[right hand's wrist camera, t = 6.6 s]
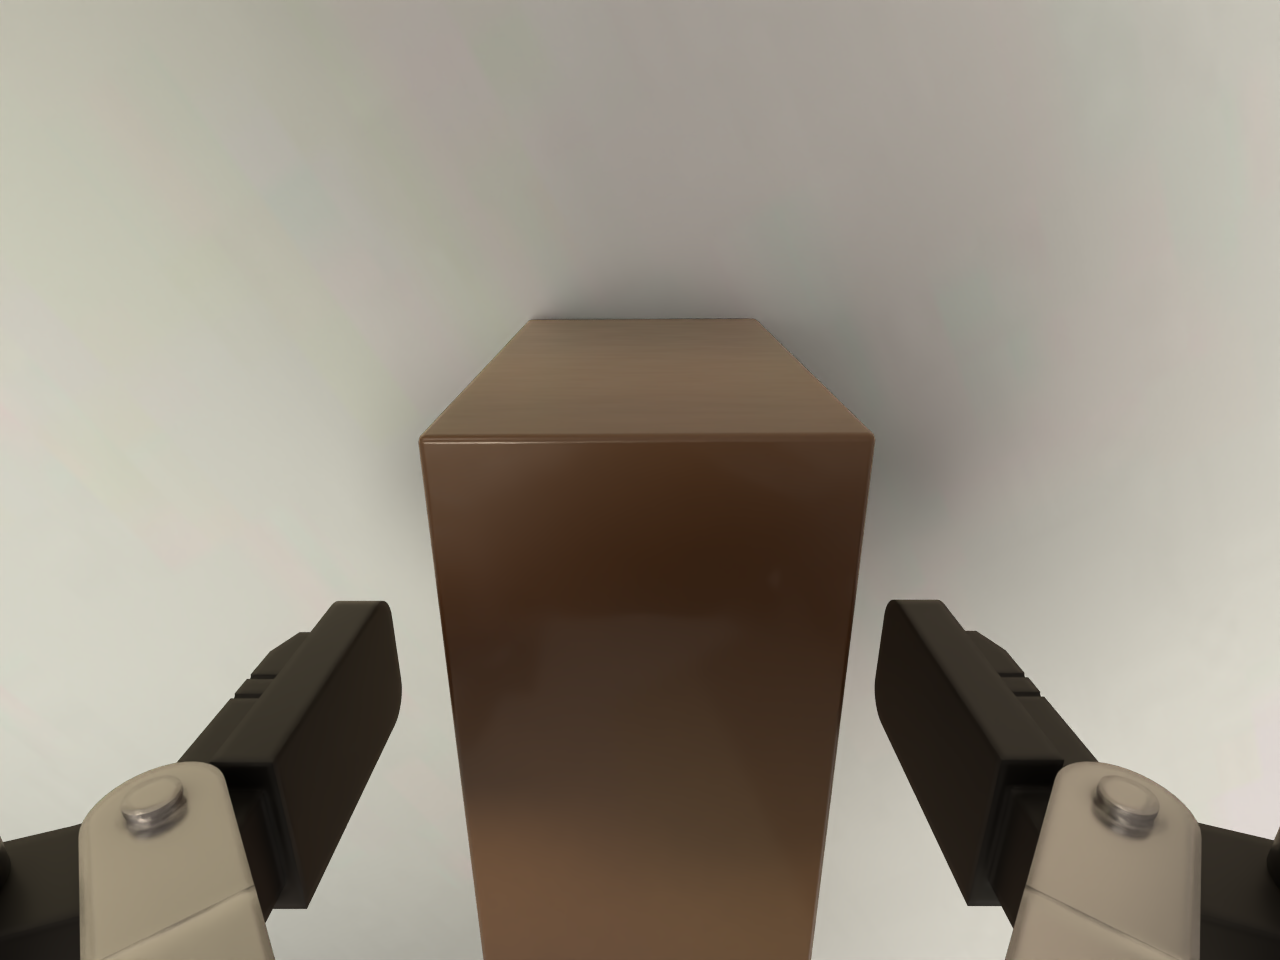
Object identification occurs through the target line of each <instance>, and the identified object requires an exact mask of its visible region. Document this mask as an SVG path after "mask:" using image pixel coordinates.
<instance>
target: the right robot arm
mask: <svg viewBox="0 0 1280 960" xmlns="http://www.w3.org/2000/svg"><path fill="white" fill-rule="evenodd" d="M401 696H402V684H401V676H400V669H399V662H398V655H397V648H396V641H395V635H394V628H393V621H392V615H391V610H390V607H389V605H388V604H387V603H386V602H385V601H337V602H335V603H333V605H332V606H331V607H330V608H329V609H328V611H327V612H326V613H325V614H324V616H323V617H322V618H321V620H320V621H319V622H318V623H317V625H316V626H315V627H314V629H313V630H312V631H311V632H299V633H298V634H296V635H295V636H293V637H292V638H290V639H289V640H287V641H286V642H284V643H283V644H281V645H280V646H278V647H276V648H275V649H273V650H272V651H270V652H269V654H268V655H267V656H266V657H265V658H264V659H263V661H262V662H261V663H260V664H259V665H258V667H257V668H256V669H255V670H254V671H253V673H252V674H251V678H250V679H247V680H246V681H245V682H244V683H243V684H242V686H241V687H240V688H239V689H238V690H237V692H236V693H235V697H234V699H230V700H229V701H228V702H227V703H226V705H225V706H224V707H223V708H222V709H221V711H220V712H219V713H218V714H217V715H216V717H215V718H214V719H213V720H212V721H211V722H210V724H209V725H208V726H207V727H206V728H205V730H204V731H203V732H202V733H201V734H200V736H199V737H198V738H197V739H196V740H195V742H194V743H193V744H192V745H191V746H190V747H189V749H188V750H187V751H186V752H185V753H184V755H183V756H182V757H181V758H180V759H179V761H178V762H177V763H173V764H169V765H165V766H161V767H158V768H155V769H152V770H149V771H147V772H144V773H142V774H140V775H137V776H135V777H133V778H132V779H130V780H128V781H126V782H124V783H123V784H121V785H119V786H118V787H116V788H115V789H113V790H112V791H111V792H109V793H108V794H107V795H105V796H104V797H103V798H102V799H101V800H100V801H99V802H98V803H97V804H96V805H95V806H94V807H93V808H92V809H91V810H90V812H89V813H88V814H87V816H86V817H85V819H84V820H83V822H82V824H78V825H75V826H71V827H67V828H62V829H58V830H54V831H49V832H45V833H41V834H37V835H32V836H28V837H24V838H19V839H15V840H11V841H7V842H2V839H1V837H0V960H275V958H274V954H273V950H272V947H271V943H270V940H269V936H268V932H267V929H266V925H265V922H266V921H267V919H268V917H269V915H270V913H271V911H272V909H307V908H308V906H309V903H310V901H311V899H312V897H313V895H314V893H315V891H316V889H317V887H318V885H319V882H320V880H321V878H322V876H323V874H324V872H325V870H326V868H327V866H328V864H329V862H330V859H331V857H332V855H333V853H334V851H335V849H336V847H337V845H338V843H339V841H340V839H341V836H342V834H343V832H344V830H345V828H346V826H347V824H348V822H349V820H350V818H351V816H352V813H353V811H354V809H355V807H356V805H357V803H358V801H359V799H360V797H361V795H362V792H363V790H364V788H365V786H366V784H367V782H368V780H369V778H370V776H371V774H372V772H373V769H374V767H375V765H376V763H377V761H378V759H379V757H380V755H381V753H382V751H383V749H384V746H385V744H386V742H387V740H388V738H389V736H390V734H391V732H392V730H393V728H394V726H395V723H396V721H397V718H398V714H399V710H400V705H401ZM875 700H876V707H877V712H878V715H879V718H880V721H881V723H882V725H883V728H884V730H885V732H886V734H887V736H888V738H889V740H890V742H891V745H892V747H893V749H894V751H895V753H896V755H897V757H898V759H899V761H900V764H901V766H902V768H903V770H904V772H905V774H906V776H907V778H908V781H909V783H910V785H911V787H912V789H913V791H914V793H915V795H916V798H917V800H918V802H919V804H920V806H921V808H922V810H923V812H924V814H925V817H926V819H927V821H928V823H929V825H930V827H931V829H932V831H933V834H934V836H935V838H936V840H937V842H938V844H939V846H940V848H941V850H942V853H943V855H944V857H945V859H946V861H947V863H948V865H949V867H950V870H951V872H952V874H953V876H954V878H955V880H956V882H957V884H958V887H959V889H960V891H961V893H962V895H963V897H964V899H965V901H966V903H967V906H1002V908H1003V910H1004V912H1005V914H1006V915H1007V917H1008V919H1009V921H1010V923H1011V925H1012V927H1013V932H1012V936H1011V940H1010V943H1009V947H1008V950H1007V954H1006V958H1005V960H1280V828H1279V830H1278V832H1277V835H1276V837H1275V839H1274V840H1270V839H1266V838H1261V837H1257V836H1253V835H1248V834H1244V833H1240V832H1236V831H1231V830H1227V829H1223V828H1218V827H1214V826H1210V825H1205V824H1201V823H1198V822H1197V820H1196V819H1195V817H1194V816H1193V814H1192V813H1191V812H1190V810H1189V809H1188V808H1187V807H1186V806H1185V805H1184V804H1183V803H1182V802H1181V801H1180V800H1179V799H1178V798H1177V797H1176V796H1175V795H1173V794H1172V793H1171V792H1169V791H1168V790H1167V789H1165V788H1164V787H1162V786H1160V785H1159V784H1157V783H1156V782H1154V781H1152V780H1150V779H1148V778H1146V777H1145V776H1143V775H1140V774H1138V773H1136V772H1133V771H1131V770H1128V769H1125V768H1122V767H1119V766H1115V765H1111V764H1107V763H1100V762H1098V761H1097V760H1096V758H1095V757H1094V756H1093V755H1092V754H1091V752H1090V751H1089V750H1088V749H1087V748H1086V746H1085V745H1084V744H1083V743H1082V742H1081V740H1080V739H1079V738H1078V737H1077V736H1076V734H1075V733H1074V732H1073V731H1072V730H1071V728H1070V727H1069V726H1068V725H1067V724H1066V722H1065V721H1064V720H1063V719H1062V718H1061V716H1060V715H1059V714H1058V713H1057V712H1056V710H1055V709H1054V708H1053V707H1052V706H1051V704H1050V703H1049V702H1048V701H1047V700H1046V698H1045V697H1041V696H1040V691H1039V690H1038V689H1037V688H1036V686H1035V685H1034V684H1033V683H1032V682H1031V680H1030V679H1029V678H1028V677H1025V676H1024V672H1023V671H1022V670H1021V668H1020V667H1019V666H1018V665H1017V664H1016V662H1015V661H1014V660H1013V659H1012V658H1011V656H1010V655H1009V654H1008V653H1007V652H1006V650H1004V649H1003V648H1001V647H1000V646H998V645H997V644H995V643H994V642H992V641H991V640H989V639H988V638H986V637H985V636H983V635H981V634H980V633H978V632H977V631H965V630H964V629H963V628H962V626H961V625H960V624H959V623H958V621H957V620H956V619H955V617H954V616H953V615H952V614H951V612H950V611H949V610H948V608H947V607H946V606H945V604H944V603H943V602H941V601H940V600H891V601H890V602H889V603H888V604H887V607H886V610H885V615H884V621H883V628H882V635H881V642H880V649H879V656H878V663H877V670H876V677H875Z"/></svg>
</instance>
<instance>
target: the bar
mask: <svg viewBox="0 0 1280 960" xmlns="http://www.w3.org/2000/svg"><path fill="white" fill-rule="evenodd" d="M418 443H419V451H420V459H421V467H422V475H423V483H424V491H425V498H426V506H427V514H428V522H429V530H430V538H431V546H432V554H433V562H434V570H435V578H436V586H437V594H438V602H439V610H440V618H441V626H442V633H443V641H444V649H445V657H446V665H447V673H448V681H449V689H450V697H451V705H452V713H453V721H454V729H455V737H456V745H457V753H458V761H459V768H460V776H461V784H462V792H463V800H464V808H465V816H466V824H467V832H468V840H469V848H470V856H471V864H472V872H473V880H474V888H475V896H476V903H477V911H478V919H479V927H480V935H481V943H482V951H483V959H484V960H811V955H812V947H813V939H814V931H815V923H816V914H817V906H818V898H819V890H820V882H821V874H822V866H823V858H824V850H825V842H826V834H827V826H828V818H829V809H830V801H831V793H832V785H833V777H834V769H835V761H836V753H837V745H838V737H839V729H840V721H841V712H842V704H843V696H844V688H845V680H846V672H847V664H848V656H849V648H850V640H851V632H852V624H853V615H854V607H855V599H856V591H857V583H858V575H859V567H860V559H861V551H862V543H863V535H864V527H865V518H866V510H867V502H868V494H869V486H870V478H871V470H872V462H873V454H874V446H875V437H874V434H873V433H872V432H871V431H870V430H869V429H868V428H867V427H866V426H865V425H864V424H863V423H862V422H861V421H860V420H859V419H858V418H857V417H856V416H855V415H853V414H852V413H851V412H850V411H849V410H848V409H847V408H846V407H845V406H844V405H843V404H842V403H841V402H840V401H839V400H838V399H837V398H836V397H835V396H834V395H833V394H832V393H831V392H830V391H829V390H828V389H827V388H826V387H825V386H824V385H823V384H822V383H821V382H820V381H819V380H818V379H817V378H816V377H814V376H813V375H812V374H811V373H810V372H809V371H808V370H807V369H806V368H805V367H804V366H803V365H802V364H801V363H800V362H799V361H798V360H797V359H796V358H795V357H794V356H793V355H792V354H791V353H790V352H789V351H788V350H787V349H786V348H785V347H784V346H783V345H782V344H781V343H780V342H779V341H778V340H776V339H775V338H774V337H773V336H772V335H771V334H770V333H769V332H768V331H767V330H766V329H765V328H764V327H763V326H762V325H761V324H760V323H759V322H758V321H757V320H755V319H586V320H530V321H528V322H527V323H526V324H525V325H524V327H523V328H522V329H521V330H520V331H519V332H518V333H517V334H516V335H515V336H514V337H513V338H512V339H511V340H510V341H509V342H508V343H507V345H506V346H505V347H504V348H503V349H502V350H501V351H500V352H499V353H498V354H497V355H496V356H495V357H494V358H493V359H492V360H491V362H490V363H489V364H488V365H487V366H486V367H485V368H484V369H483V370H482V371H481V372H480V373H479V374H478V375H477V376H476V377H475V379H474V380H473V381H472V382H471V383H470V384H469V385H468V386H467V387H466V388H465V389H464V390H463V391H462V392H461V393H460V394H459V396H458V397H457V398H456V399H455V400H454V401H453V402H452V403H451V404H450V405H449V406H448V407H447V408H446V409H445V410H444V411H443V413H442V414H441V415H440V416H439V417H438V418H437V419H436V420H435V421H434V422H433V423H432V424H431V425H430V426H429V427H428V428H427V430H426V431H425V432H424V433H423V434H422V435H421V436H420V438H419V441H418Z"/></svg>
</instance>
